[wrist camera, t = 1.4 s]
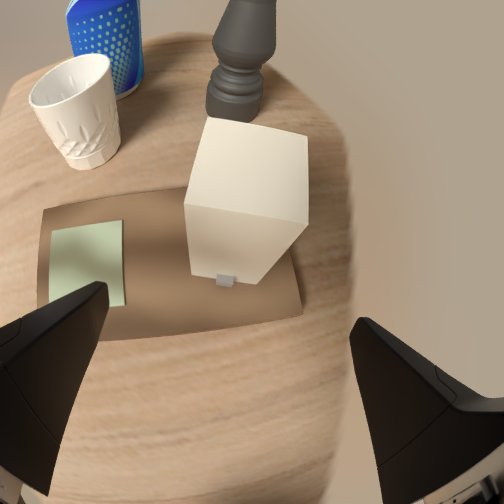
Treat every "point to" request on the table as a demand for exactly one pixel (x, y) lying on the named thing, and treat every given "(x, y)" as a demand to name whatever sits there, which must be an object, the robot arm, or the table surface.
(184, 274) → the board
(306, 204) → the tall white prism
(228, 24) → the candle holder
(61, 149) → the white cup
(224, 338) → the table surface
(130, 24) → the beer can
